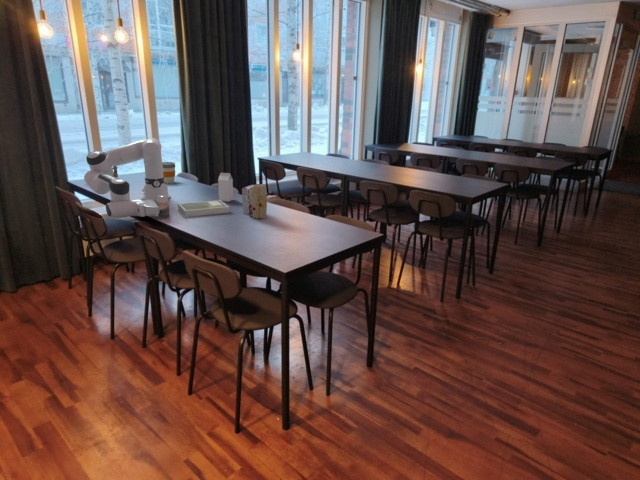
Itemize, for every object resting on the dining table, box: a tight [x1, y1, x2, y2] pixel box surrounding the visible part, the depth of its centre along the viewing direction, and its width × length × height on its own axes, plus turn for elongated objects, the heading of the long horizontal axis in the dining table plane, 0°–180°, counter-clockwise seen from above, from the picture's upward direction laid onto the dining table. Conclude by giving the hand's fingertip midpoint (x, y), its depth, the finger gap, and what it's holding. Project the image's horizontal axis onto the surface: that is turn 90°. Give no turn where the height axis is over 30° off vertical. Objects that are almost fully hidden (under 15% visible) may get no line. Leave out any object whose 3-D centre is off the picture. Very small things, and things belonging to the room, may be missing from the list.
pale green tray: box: [177, 199, 231, 220], centre depth 254 cm, size 18×26×4 cm
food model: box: [252, 183, 268, 220], centre depth 245 cm, size 10×7×20 cm
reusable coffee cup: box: [162, 161, 176, 184], centre depth 331 cm, size 13×13×15 cm
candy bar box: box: [241, 184, 255, 215], centre depth 254 cm, size 11×5×16 cm, turn 160°
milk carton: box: [217, 172, 234, 203], centre depth 280 cm, size 7×7×19 cm
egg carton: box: [208, 200, 223, 208], centre depth 257 cm, size 10×6×4 cm, turn 30°
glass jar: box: [156, 194, 171, 219], centre depth 242 cm, size 6×6×12 cm
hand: (164, 205), depth 242 cm, fingers closed on glass jar, 6 cm apart
